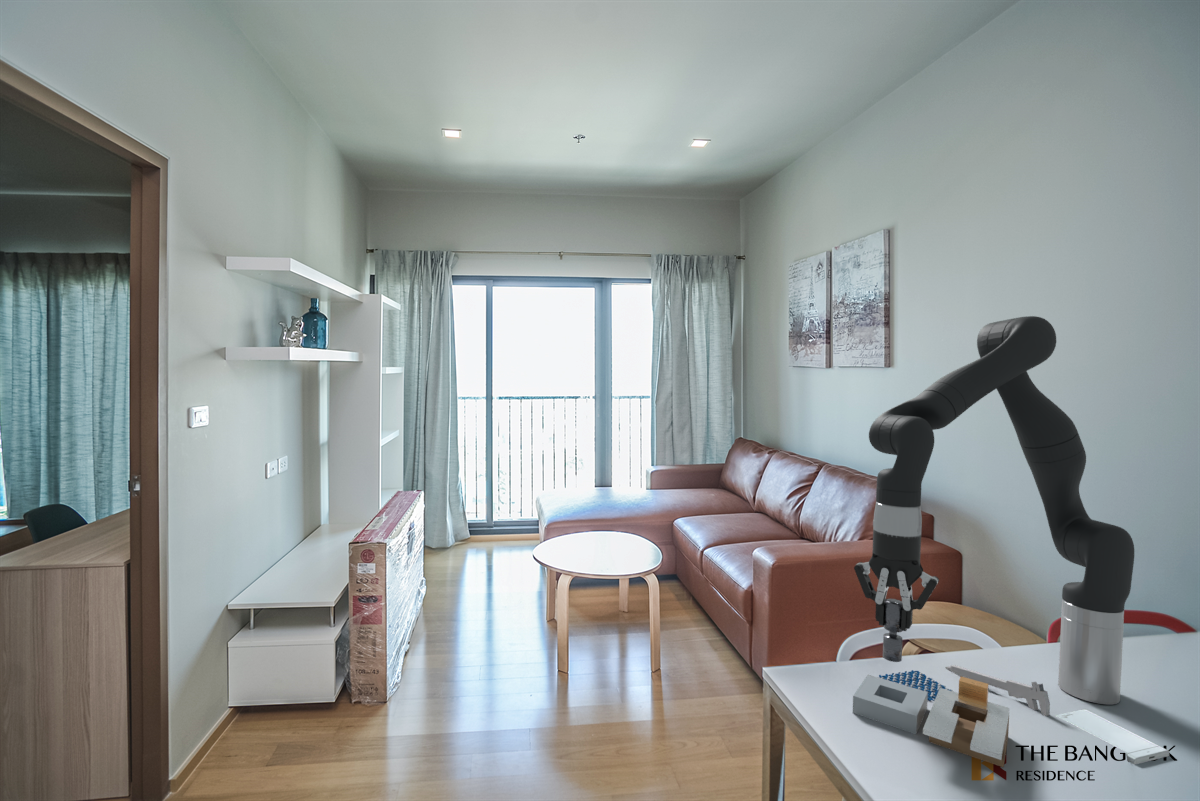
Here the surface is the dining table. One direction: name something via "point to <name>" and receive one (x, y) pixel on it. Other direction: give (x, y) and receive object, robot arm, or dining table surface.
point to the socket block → (969, 736)
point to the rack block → (890, 703)
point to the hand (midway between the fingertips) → (893, 626)
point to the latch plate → (974, 698)
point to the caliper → (1011, 688)
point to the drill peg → (892, 630)
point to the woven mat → (917, 682)
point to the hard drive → (1116, 736)
